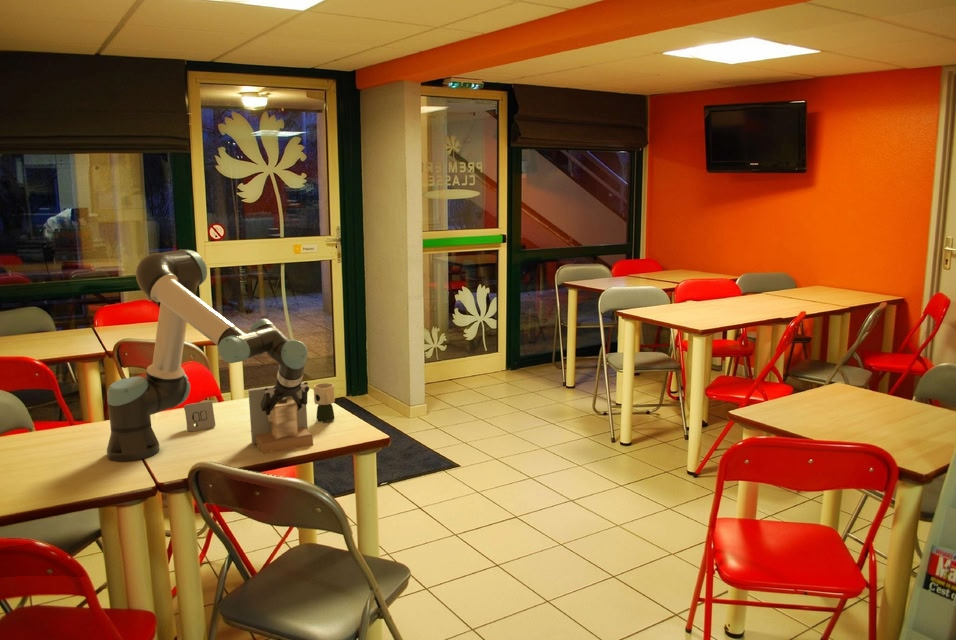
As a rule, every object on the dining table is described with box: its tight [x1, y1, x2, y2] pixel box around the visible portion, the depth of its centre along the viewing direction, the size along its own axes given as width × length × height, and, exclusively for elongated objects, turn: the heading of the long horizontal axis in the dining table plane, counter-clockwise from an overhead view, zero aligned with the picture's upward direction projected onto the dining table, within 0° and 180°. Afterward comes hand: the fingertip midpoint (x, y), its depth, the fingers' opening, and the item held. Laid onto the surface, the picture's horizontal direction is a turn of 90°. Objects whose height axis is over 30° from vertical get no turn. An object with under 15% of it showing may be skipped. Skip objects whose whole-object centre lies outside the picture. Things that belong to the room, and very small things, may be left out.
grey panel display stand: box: [248, 381, 314, 454], centre depth 251 cm, size 18×12×18 cm, turn 117°
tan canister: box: [271, 397, 298, 439], centre depth 251 cm, size 7×7×12 cm
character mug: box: [313, 382, 336, 423], centre depth 275 cm, size 11×7×13 cm, turn 25°
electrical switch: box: [183, 400, 216, 433], centre depth 269 cm, size 9×5×9 cm, turn 121°
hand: (281, 416), depth 254 cm, fingers closed on tan canister, 7 cm apart
